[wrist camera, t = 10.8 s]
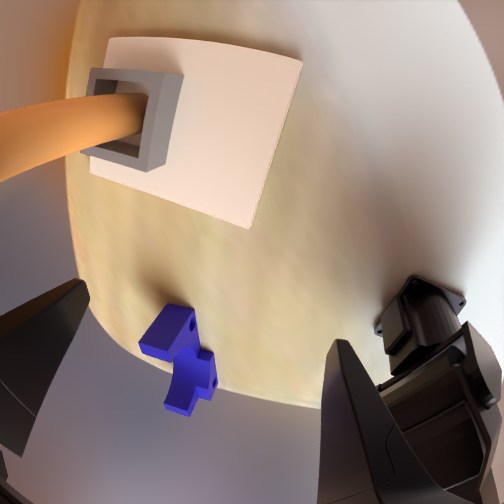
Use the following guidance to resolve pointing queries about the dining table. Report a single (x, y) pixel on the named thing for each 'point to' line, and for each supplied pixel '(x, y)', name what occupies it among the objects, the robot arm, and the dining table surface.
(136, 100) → the toggle bar
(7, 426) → the robot arm
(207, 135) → the keeper plate
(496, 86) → the dining table surface
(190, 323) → the cable clip
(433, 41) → the dining table surface
